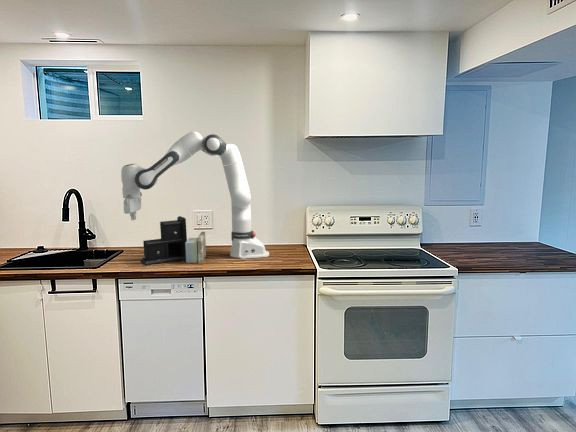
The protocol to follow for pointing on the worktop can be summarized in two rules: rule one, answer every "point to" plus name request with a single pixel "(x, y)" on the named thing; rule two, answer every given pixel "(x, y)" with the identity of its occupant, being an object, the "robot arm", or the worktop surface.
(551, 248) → the worktop surface
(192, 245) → the book
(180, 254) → the black stepped block
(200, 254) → the end board
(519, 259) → the worktop surface
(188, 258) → the book
